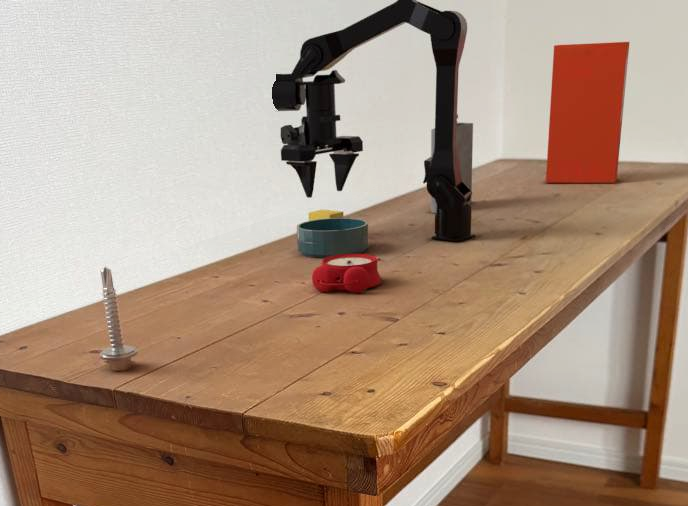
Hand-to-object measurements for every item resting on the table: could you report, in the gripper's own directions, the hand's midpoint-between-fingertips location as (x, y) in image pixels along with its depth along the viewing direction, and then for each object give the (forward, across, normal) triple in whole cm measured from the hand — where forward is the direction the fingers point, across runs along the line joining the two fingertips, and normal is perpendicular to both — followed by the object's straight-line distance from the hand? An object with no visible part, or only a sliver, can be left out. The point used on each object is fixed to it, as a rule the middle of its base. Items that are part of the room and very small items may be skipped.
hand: (324, 194), depth 192 cm
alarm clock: (+9, +31, +32) cm, 45 cm away
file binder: (+8, -89, +10) cm, 90 cm away
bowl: (+8, +10, +11) cm, 17 cm away
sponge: (+8, 0, 0) cm, 9 cm away
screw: (+9, +80, +35) cm, 88 cm away
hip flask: (+9, -41, +2) cm, 42 cm away
